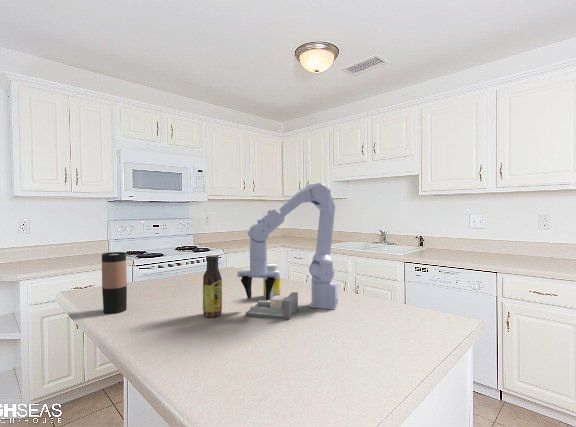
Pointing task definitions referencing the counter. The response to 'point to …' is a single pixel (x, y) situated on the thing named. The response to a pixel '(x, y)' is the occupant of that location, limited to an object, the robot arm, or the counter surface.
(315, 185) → the robot arm
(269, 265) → the supplement bottle
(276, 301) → the block
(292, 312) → the board
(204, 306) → the sauce bottle
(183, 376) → the counter surface
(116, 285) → the travel mug
